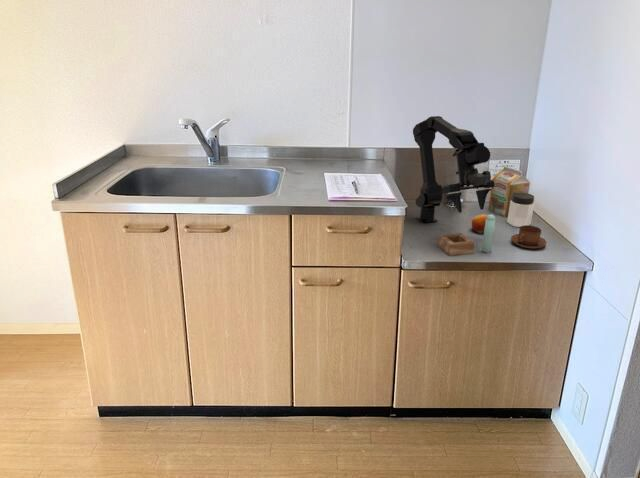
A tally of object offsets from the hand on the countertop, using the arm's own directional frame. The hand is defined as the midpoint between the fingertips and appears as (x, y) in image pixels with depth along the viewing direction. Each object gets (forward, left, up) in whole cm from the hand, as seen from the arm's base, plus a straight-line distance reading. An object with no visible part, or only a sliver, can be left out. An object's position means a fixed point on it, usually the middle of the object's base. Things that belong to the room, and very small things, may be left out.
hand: (471, 210), depth 175 cm
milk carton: (-27, +36, -13) cm, 47 cm away
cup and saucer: (+6, +22, -13) cm, 26 cm away
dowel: (+7, +4, -13) cm, 15 cm away
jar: (-13, +32, -13) cm, 37 cm away
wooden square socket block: (+3, -6, -13) cm, 15 cm away
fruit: (-10, +13, -13) cm, 21 cm away
